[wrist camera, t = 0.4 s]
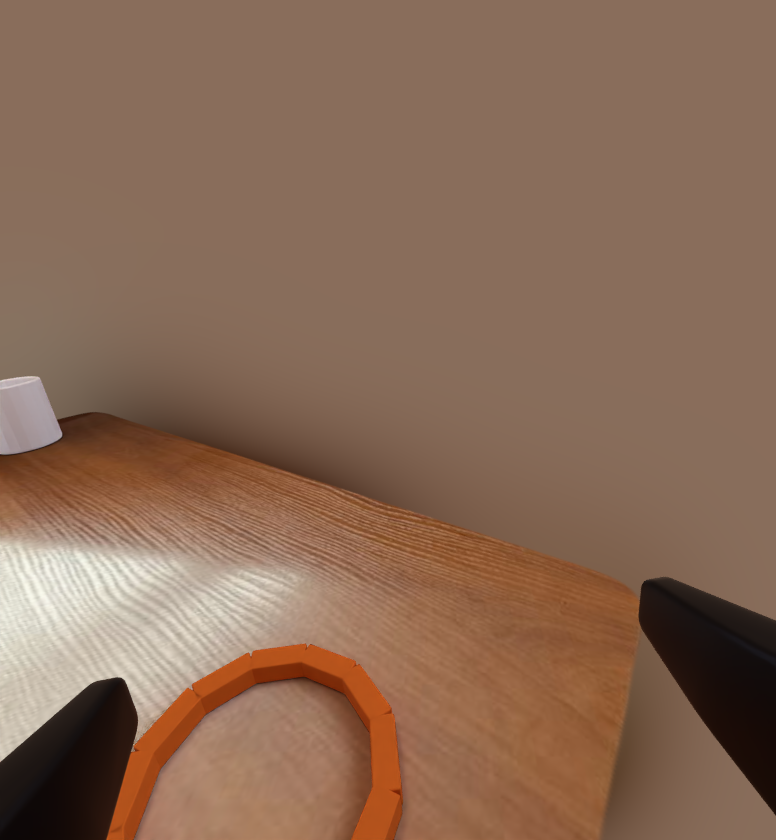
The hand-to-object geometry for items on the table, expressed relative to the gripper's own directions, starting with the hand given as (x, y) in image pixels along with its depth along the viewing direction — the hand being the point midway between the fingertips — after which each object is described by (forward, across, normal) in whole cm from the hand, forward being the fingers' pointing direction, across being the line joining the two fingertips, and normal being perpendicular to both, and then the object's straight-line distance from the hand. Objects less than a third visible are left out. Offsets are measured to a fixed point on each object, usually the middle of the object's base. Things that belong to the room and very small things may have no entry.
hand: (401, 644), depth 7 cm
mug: (+61, +51, +11) cm, 81 cm away
